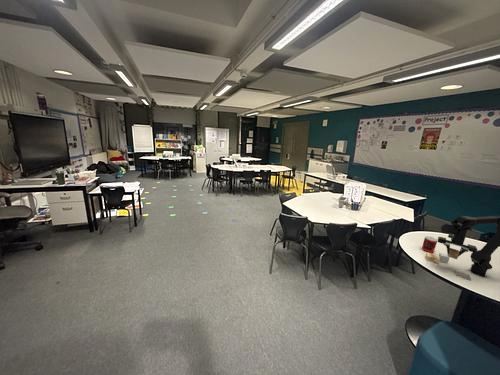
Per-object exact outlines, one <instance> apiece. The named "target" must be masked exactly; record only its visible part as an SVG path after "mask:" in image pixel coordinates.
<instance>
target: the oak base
mask: <svg viewBox="0 0 500 375" xmlns="http://www.w3.org/2000/svg"><path fill="white" fill-rule="evenodd" d="M424 257H425V261H427V262H430V263H434V264H436V265H439V264H440V258H439V254H435V253H428V252H426V253H425V256H424Z"/></svg>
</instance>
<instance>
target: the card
mask: <svg viewBox="0 0 500 375" xmlns="http://www.w3.org/2000/svg"><path fill="white" fill-rule="evenodd" d="M454 273H455V276H456V275H457V276H456V277H459V278H462V279H465V280H469V281H472V278H471V275H470V274H467V273H465V272H461V271H459V270H454Z"/></svg>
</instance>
